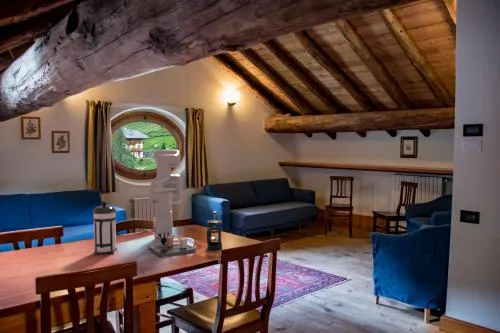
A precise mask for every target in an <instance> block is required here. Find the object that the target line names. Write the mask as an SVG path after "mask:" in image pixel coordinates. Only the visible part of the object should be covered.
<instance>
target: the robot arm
mask: <svg viewBox="0 0 500 333" xmlns="http://www.w3.org/2000/svg"><path fill="white" fill-rule="evenodd" d="M153 158H154V161H155V164H156V176H155V178H154V179H153V180H152V182H150V184H149V189H148V201H149V203H150V204H152V205H156V216H155V217H154V223H153V224H154V225H153V231H154V236H156V238H160V245H166V238H167V237H170V236H171V237H173V238H174V237H175V236H176V234H175V232H173V209H172V207H171V206H170V205H180V204H181V203H182V202H183V196H184V194H183V178H182V176H181V175H180V174H178V173H177V174H176V173H175V174H174V173H173V174H172V168H179V167H180V165H181V152H180V150H178V149H157V150H154V152H153ZM157 186H159V188H161V189H164V190H158V191H154V190H155V188H156V187H157ZM171 189H172V190H171Z"/></svg>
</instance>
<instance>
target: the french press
mask: <svg viewBox="0 0 500 333" xmlns="http://www.w3.org/2000/svg"><path fill="white" fill-rule="evenodd" d="M211 213H212V214H213V216H214V218H213V219H212V220H211V219H210V220H207V226H209V227H208V228H206V243H207V246H206V247H207V248H206V250H207V251H210V252H215V251H216V252H217V251H221V250H220V249H222V250H223V243H222V239H223V237H222V232H223V229H222V228H221V227H216V225H222V223H223V221H222V220H219V219H216V213H218V211H216V210H212V211H211ZM212 234H214V236H212ZM216 234H217V236H216Z"/></svg>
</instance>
